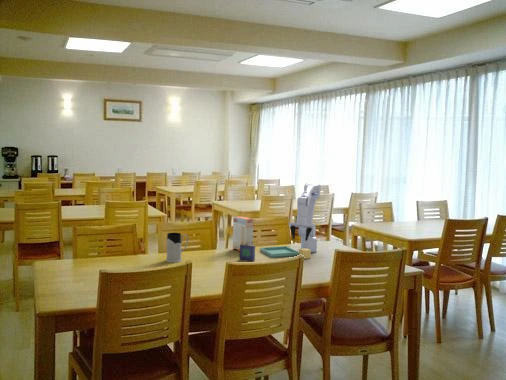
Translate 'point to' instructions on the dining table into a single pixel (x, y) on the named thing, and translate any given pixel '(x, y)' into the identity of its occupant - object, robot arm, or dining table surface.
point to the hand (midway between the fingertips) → (299, 239)
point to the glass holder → (174, 247)
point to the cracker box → (242, 231)
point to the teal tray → (279, 251)
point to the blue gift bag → (247, 252)
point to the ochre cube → (305, 252)
